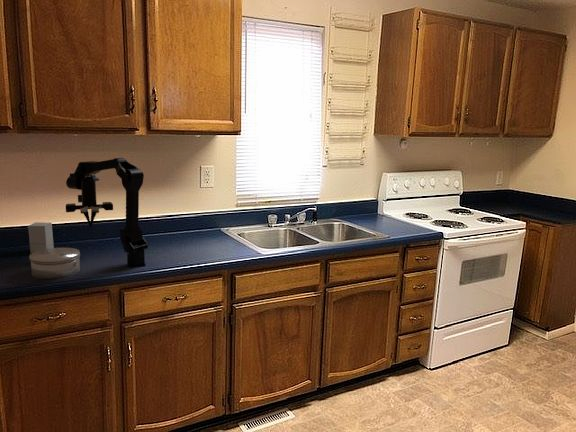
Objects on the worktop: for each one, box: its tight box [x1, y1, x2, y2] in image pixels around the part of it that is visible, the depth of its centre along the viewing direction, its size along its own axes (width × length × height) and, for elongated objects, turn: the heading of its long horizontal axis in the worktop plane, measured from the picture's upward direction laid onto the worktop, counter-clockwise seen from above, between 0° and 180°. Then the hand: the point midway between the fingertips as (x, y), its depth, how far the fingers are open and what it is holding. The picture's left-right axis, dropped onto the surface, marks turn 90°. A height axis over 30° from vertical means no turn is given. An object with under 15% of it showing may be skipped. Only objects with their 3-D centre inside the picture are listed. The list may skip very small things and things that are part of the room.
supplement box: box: [27, 221, 55, 254], centre depth 212 cm, size 7×7×13 cm
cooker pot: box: [29, 254, 81, 280], centre depth 189 cm, size 18×25×6 cm
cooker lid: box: [28, 247, 81, 263], centre depth 185 cm, size 18×18×1 cm
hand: (90, 226), depth 206 cm, fingers closed
